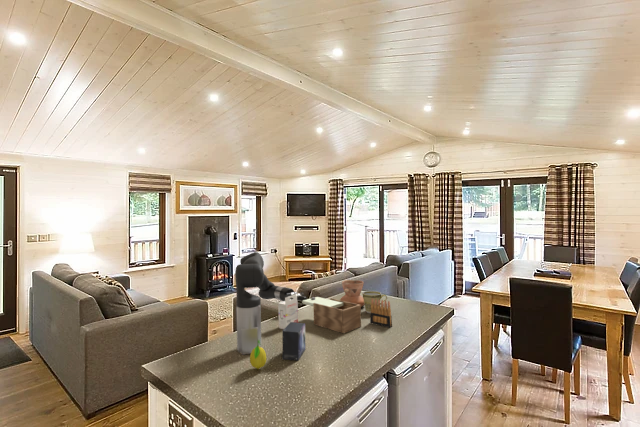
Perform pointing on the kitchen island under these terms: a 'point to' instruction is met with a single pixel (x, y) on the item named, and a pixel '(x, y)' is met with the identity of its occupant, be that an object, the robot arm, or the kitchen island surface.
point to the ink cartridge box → (288, 311)
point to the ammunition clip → (380, 313)
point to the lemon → (258, 357)
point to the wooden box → (338, 316)
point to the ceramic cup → (368, 297)
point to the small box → (293, 341)
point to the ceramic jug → (353, 291)
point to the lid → (322, 302)
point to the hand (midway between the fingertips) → (305, 299)
